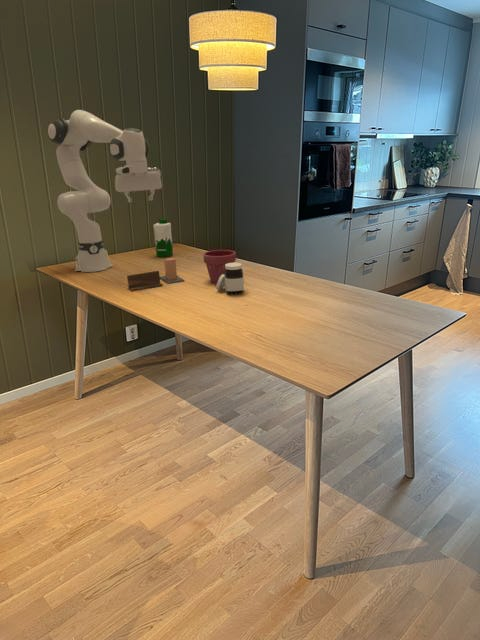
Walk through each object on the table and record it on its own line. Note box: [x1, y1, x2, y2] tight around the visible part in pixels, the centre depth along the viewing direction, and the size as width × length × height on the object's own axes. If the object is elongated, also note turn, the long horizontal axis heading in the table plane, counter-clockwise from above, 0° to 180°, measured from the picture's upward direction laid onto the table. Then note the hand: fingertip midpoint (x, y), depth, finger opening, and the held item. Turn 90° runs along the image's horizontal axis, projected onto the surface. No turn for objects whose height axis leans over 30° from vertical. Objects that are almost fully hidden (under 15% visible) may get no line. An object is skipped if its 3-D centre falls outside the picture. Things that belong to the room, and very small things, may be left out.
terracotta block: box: [163, 257, 178, 280], centre depth 215 cm, size 4×4×9 cm
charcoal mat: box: [160, 275, 185, 285], centre depth 216 cm, size 12×8×1 cm, turn 28°
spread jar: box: [215, 262, 245, 295], centre depth 194 cm, size 12×11×12 cm
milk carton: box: [152, 218, 174, 258], centre depth 260 cm, size 9×9×20 cm
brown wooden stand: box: [126, 270, 164, 292], centre depth 205 cm, size 5×14×6 cm, turn 118°
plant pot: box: [203, 249, 237, 284], centre depth 209 cm, size 14×14×13 cm
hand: (140, 201), depth 208 cm, fingers open, 8 cm apart
